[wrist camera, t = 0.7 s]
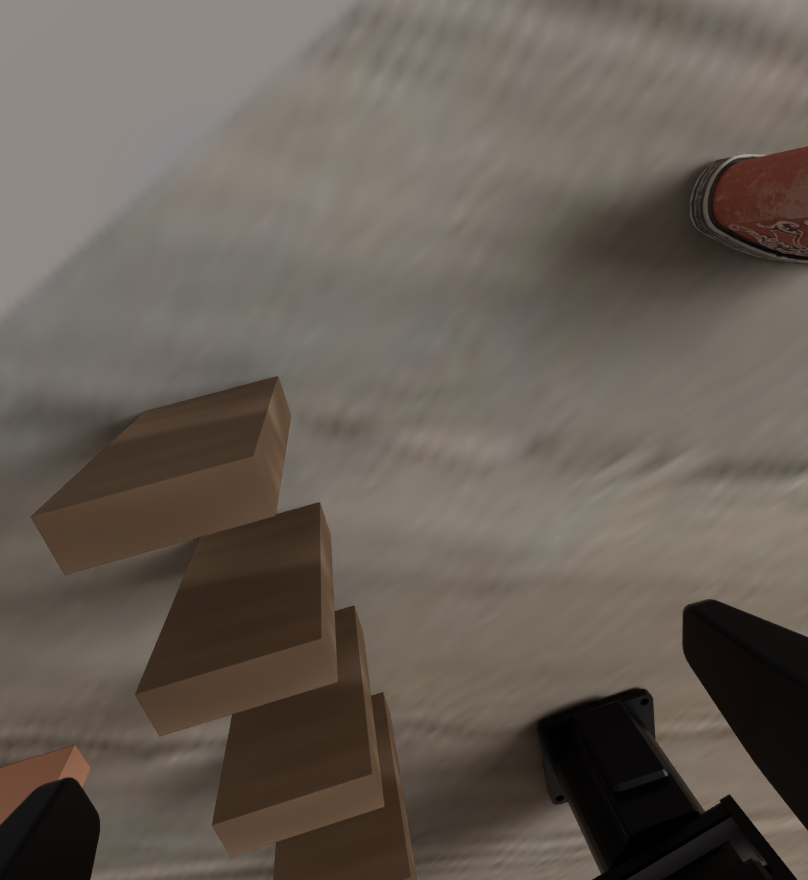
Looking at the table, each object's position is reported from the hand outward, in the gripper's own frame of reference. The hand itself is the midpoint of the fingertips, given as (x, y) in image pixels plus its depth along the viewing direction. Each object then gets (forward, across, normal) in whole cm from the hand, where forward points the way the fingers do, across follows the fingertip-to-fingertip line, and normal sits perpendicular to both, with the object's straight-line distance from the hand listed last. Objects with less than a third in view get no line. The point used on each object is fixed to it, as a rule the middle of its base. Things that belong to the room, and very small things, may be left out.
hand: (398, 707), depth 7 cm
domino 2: (+14, +4, +4) cm, 15 cm away
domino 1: (+14, +5, -2) cm, 14 cm away
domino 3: (+14, +4, +9) cm, 17 cm away
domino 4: (+14, +4, +15) cm, 21 cm away
